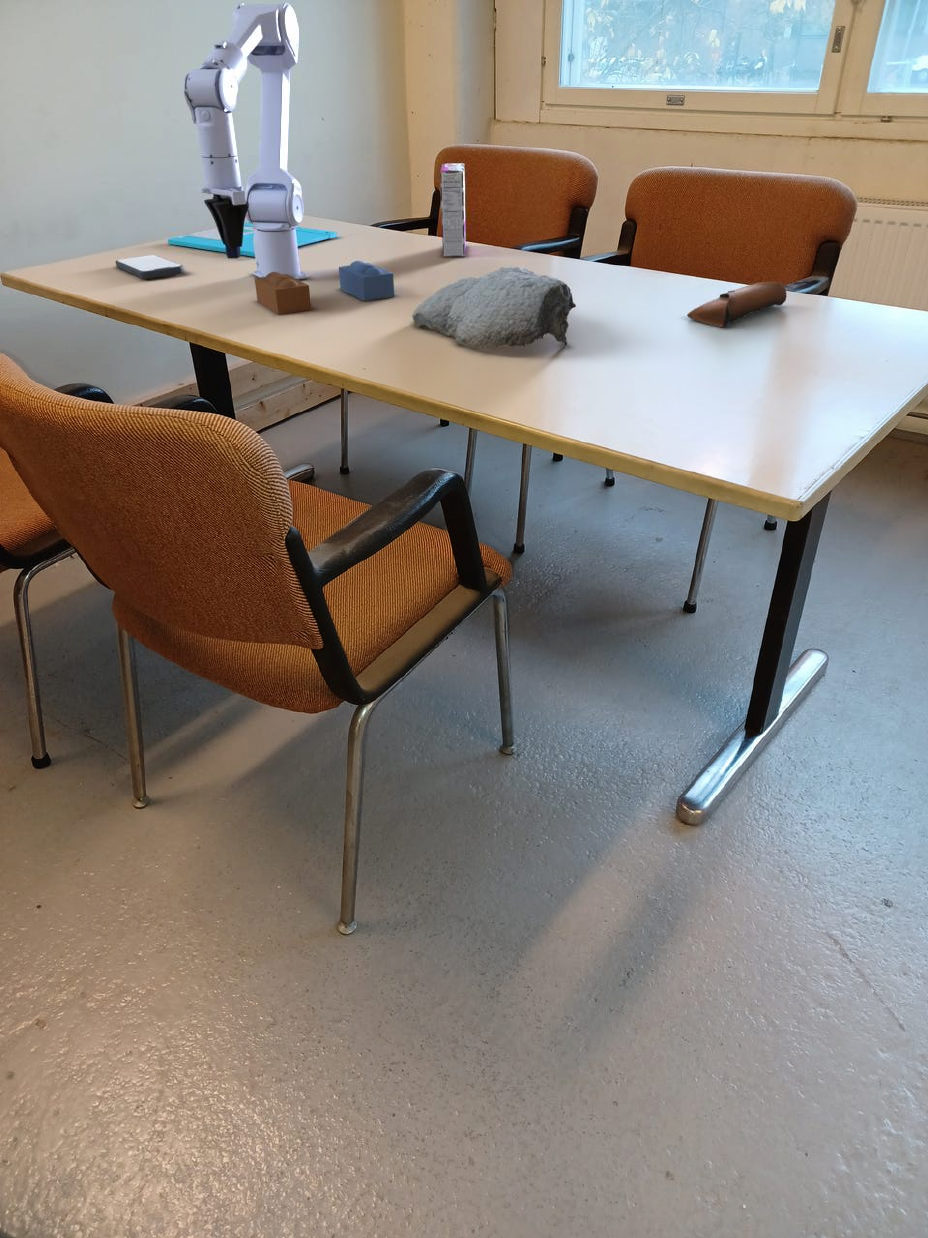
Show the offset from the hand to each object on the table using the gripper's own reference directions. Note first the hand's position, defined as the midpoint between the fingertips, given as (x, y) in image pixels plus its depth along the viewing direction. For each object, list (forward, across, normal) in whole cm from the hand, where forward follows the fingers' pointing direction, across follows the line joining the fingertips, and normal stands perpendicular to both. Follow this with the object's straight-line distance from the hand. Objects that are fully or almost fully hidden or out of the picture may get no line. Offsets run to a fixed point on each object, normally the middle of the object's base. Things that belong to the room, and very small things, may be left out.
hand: (232, 245), depth 151 cm
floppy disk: (+9, -50, +20) cm, 55 cm away
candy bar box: (+10, -15, +53) cm, 56 cm away
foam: (+9, +40, +28) cm, 50 cm away
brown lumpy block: (+9, +7, +5) cm, 13 cm away
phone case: (+10, -33, -7) cm, 35 cm away
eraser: (+2, 0, 0) cm, 2 cm away
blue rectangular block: (+9, +7, +21) cm, 24 cm away
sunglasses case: (+10, +53, +67) cm, 86 cm away
